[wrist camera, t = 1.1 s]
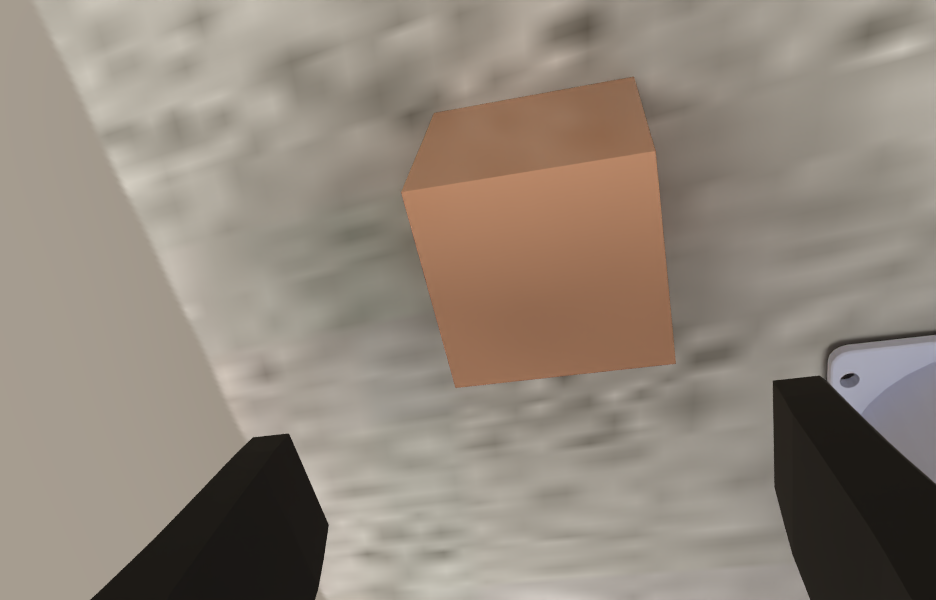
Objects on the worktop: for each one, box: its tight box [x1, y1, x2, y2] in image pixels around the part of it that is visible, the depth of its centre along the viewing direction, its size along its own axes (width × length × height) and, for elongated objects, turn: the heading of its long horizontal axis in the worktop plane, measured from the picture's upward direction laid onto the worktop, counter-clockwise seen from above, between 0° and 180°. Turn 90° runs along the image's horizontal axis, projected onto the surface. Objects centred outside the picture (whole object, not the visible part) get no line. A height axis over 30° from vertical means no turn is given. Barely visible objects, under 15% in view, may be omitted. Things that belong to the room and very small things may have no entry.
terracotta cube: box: [401, 77, 676, 388], centre depth 18 cm, size 5×5×5 cm
